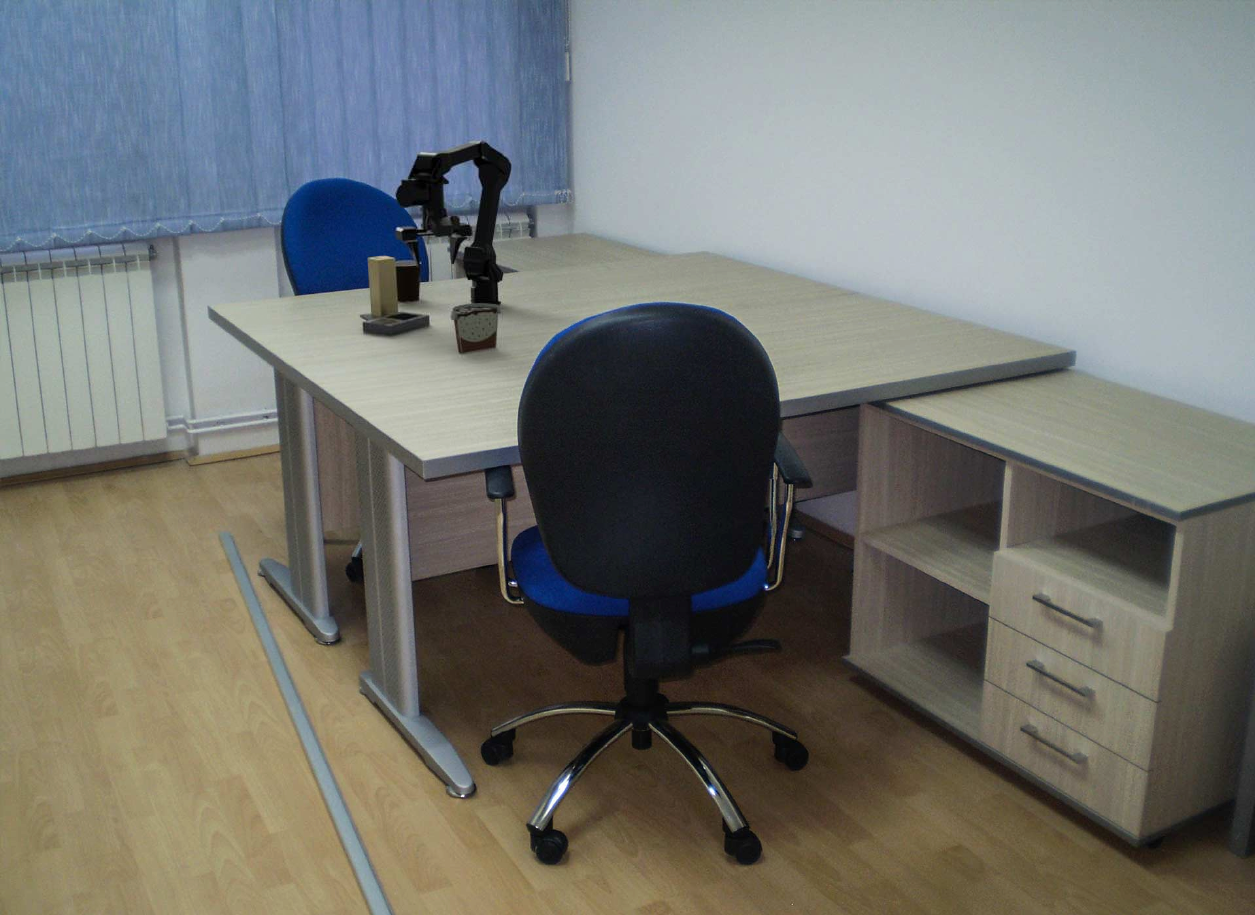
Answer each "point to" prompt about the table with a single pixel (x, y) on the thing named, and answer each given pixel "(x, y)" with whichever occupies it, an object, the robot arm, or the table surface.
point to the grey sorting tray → (396, 323)
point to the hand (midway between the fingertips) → (435, 265)
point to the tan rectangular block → (382, 286)
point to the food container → (475, 326)
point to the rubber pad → (367, 316)
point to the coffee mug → (407, 281)
